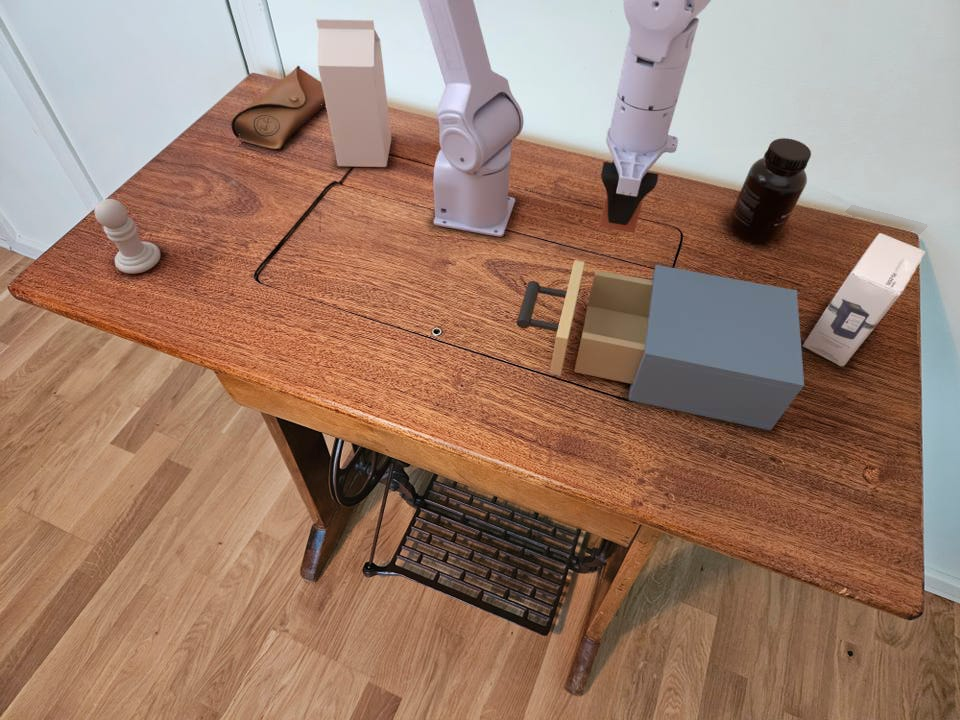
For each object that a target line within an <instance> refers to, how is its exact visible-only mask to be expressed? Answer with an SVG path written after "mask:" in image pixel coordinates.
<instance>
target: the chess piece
mask: <svg viewBox="0 0 960 720" xmlns="http://www.w3.org/2000/svg"><path fill="white" fill-rule="evenodd" d="M93 213H94V217H95V219H96V221H97V222H98V223H99V224H100V225H101V226H103V232H104V233H105V234H106V236H107V238H108V239H109V240H110V241H111V242H114V245H115V246H116V247H117V249H118V251H117V252H116V254H115V256H114V259H113V260H114V266H115V267H116V269H118V270H119V271H120V272H122V273H124V274H128V275H129V274H130V275H137V274H141V273H145V272H147V271H149V270H151V269H152V268H153V267H155V266H156V265H157V264H158V262H159V261H160V260H161V250H160V248H159V247H158V246H157V245H156V244H154V243H152V242H150V241H143V240H142V241H141V238H140V237H139V235H138V227H137V225H135V222H134V219H132V218H131V217H129V215H128V210H127V208H126V206H125V205H124V204H123V203H122V202H121V201H119V200H117V199H114V198H105V199H102V200H100V201H99V202H98V203H97V204H96V205H95V208H94V212H93Z"/></svg>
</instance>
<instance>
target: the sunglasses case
mask: <svg viewBox="0 0 960 720" xmlns="http://www.w3.org/2000/svg"><path fill="white" fill-rule="evenodd" d="M321 104H322V105H321ZM324 108H326V103H325V98H324V93H323V88H322V83H321V80H318V79H317V78H316V77H314V76H313V75H311V74H309V73H308V72H307V71H305V70H303V69H302V68H301V66H300V65H297V66H296V67H295V68H294V69H293V71H291V72H290V73H288V74H287V75H286V76H284V77H283V78H282V79H280V80H279V81H277V82H276V83H275V84H274V85H272V86H271V87H269V88H268V89H267V90H266V91H264V92H263V93H262V94H261V95H259V96H258V97H257V98H256V99H255V100H254V101H252V102H251V103H250V104H249V105H248V106H247V107H245V108H244V109H242V110H241V111H239V112H238V113H236V115H235V116H234V117H233V118H232V120H231V126H230V127H231V131H232V133H233V135H234V136H235V138H236V139H238V141H240V142H243V143H247V144H248V145H252V146H256V147H260V148H265V149H270V150H280V149H281V148H283V146H284V145H285V144H286V143H287V142H288V141H289V139H290V138H291V137H292V136H293V135H294V134H296V132H297V131H298V132H299V130H300V129H301V128H302V127H303V126H304V125H305V124H307V122H309V121H310V120H312V119H313V118H314V116H316V115H318V113H320V112H321V111H322V110H323V109H324ZM239 134H240V135H239Z"/></svg>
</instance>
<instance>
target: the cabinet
mask: <svg viewBox="0 0 960 720" xmlns="http://www.w3.org/2000/svg"><path fill="white" fill-rule="evenodd" d="M650 280H653V286H652V294H651V302H650V310H649V319H648V327H647V335H646V343H645V351H644V355H643V358H642V360H641V363H640V366H639V369H638V371H637V374H636V377H635V380H634V382H633V384H630V383H629V394H628V401H631V402H634V403H639V404H644V405H649V406H655V407H659V408H663V409H667V410H673V411H676V412H683V413H687V414H691V415H696V416H700V417H704V418H709V419H714V420H719V421H724V422H728V423H733V424H738V425H743V426H747V427H752V428H756V429H761V430H766V431H771V430H772V429H773V428H774V427H775V426H776V425H777V423H778V421H779V420H780V419H781V417H783V415H784V413H785V411H787V410H788V408H789V407H790V405H791V404H792V403H793V401H794V399H796V397H797V396H798V395H799V393H800V392H801V391H802V389H803V388H804V387H805V379H804V378H805V377H804V366H803V352H802V340H801V325H800V314H799V313H800V312H799V301H798V300H799V299H798V290H797V289H790V288H785V287H781V286H775V285H769V284H764V283H758V282H753V281H748V280H742V279H736V278H731V277H725V276H719V275H714V274H709V273H703V272H698V271H692V270H687V269H681V268H676V267H671V266H664V265H659V264H656V265H655V267H654V270H653V273H652V275H651V279H650Z"/></svg>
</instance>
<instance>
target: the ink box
mask: <svg viewBox="0 0 960 720" xmlns="http://www.w3.org/2000/svg"><path fill="white" fill-rule="evenodd" d="M926 252H927V251H926V250H924V249H921V248H920V247H916V246H914V245H911V244H909V243H906V242H903V241H902V240H899V239H896V238H894V237H892V236H889V235H887V234H885V233H882V232H879V233H878V234H877V235H876V237H875V238H874V239H873V241H872V242H871V243H870V244H869V246H868V247H867V249H866V250H865V251H864V253H863V255H862V256H861V257H860V258H859V260H858V262H857V263H856V264H855V265H854V267H853V269H852V270H851V271H850V272H849V274H848V275H847V277H846V279H845V280H844V281H843V283H842V285H841V286H840V287H839V289H838V290H837V292H836V293H835V295H834V296H833V298H832V299H831V301H830V302H829V303H828V306H827V307H826V308H825V310H824V311H823V312H822V314H821V316H820V317H819V319H818V321H817V322H816V324H815V325H814V327H813V329H812V330H811V332H810V333H809V335H808V336H807V338H806V340H805V341H804V343H803V344H802V347H803V348H805V349H807V350H809V351H811V352H812V353H815V354H816V355H819V356H821V357H822V358H824V359H826V360H828V361H830V362H832V363H833V364H836V365H838V366H839V367H844V366H845V365H846V364H847V363H848V362H849V361H850V360H851V358H852V357H853V355H855V353H856V352H857V350H858V349H859V348H860V347H861V345H862V344H863V343H864V341H866V339H867V338H868V336H870V335H871V333H872V332H873V330H874V329H875V328H876V327H877V325H878V324H879V323H880V322H881V320H882V319H883V318H884V316H886V313H888V311H889V310H890V308H892V306H893V305H894V304H895V302H896V301H897V300H898V298H899V297H900V296H901V295H902V294H903V292H904V291H905V289H906V287H907V286H908V284H909V282H910V280H911V279H912V277H913V275H914V274H915V272H916V271H917V268H918V266H919V265H920V263H921V262H922V260H923V258H924V257H925V256H926Z"/></svg>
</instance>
